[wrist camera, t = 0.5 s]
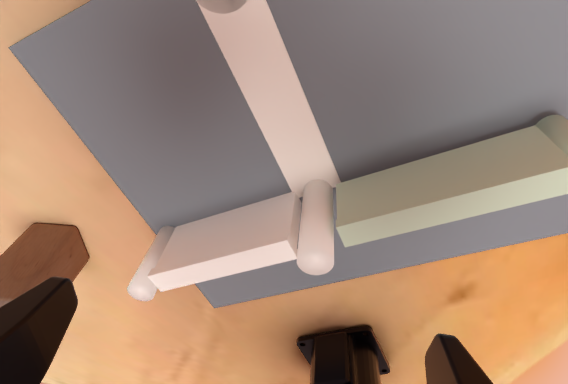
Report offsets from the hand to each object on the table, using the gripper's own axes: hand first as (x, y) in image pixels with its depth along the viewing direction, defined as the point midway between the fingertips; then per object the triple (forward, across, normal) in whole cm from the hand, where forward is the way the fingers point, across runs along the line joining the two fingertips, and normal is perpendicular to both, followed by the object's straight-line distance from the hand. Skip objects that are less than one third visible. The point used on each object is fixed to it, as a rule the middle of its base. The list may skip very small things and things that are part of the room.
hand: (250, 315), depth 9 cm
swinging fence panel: (+13, -8, +1) cm, 15 cm away
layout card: (+14, -2, +2) cm, 14 cm away
